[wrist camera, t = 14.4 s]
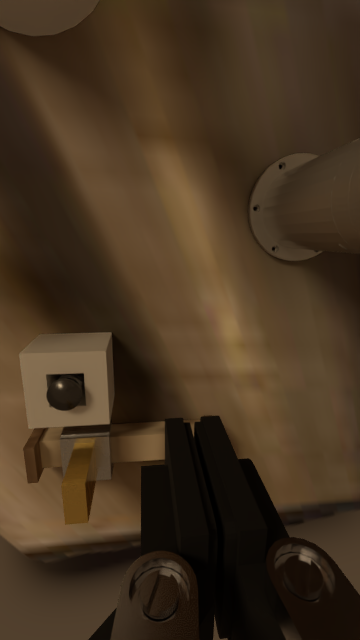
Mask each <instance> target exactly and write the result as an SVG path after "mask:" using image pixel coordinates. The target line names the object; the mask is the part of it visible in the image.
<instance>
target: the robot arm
mask: <svg viewBox="0 0 360 640" xmlns="http://www.w3.org/2000/svg"><path fill="white" fill-rule="evenodd" d="M279 166H281V169H279ZM253 207H256V210H255V211H254V210H253ZM248 220H249V225H250V229H251V232H252V234H253V236H254V238H255V240H256V241H257V243H258V244H259V245H260V247H261V248H262V249H263V250H265V251H266V252H267V253H268V254H270V255H272V256H274V257H276V258H279V259H282V260H287V261H302V260H307V259H310V258H312V257H315V256H317V255H318V254H320V253H322V252H323V251H329V252H341V253H353V254H360V138H359V139H357V140H354V141H352V142H350V143H348V144H345V145H343V146H341V147H339V148H337V149H334V150H332V151H330V152H328V153H325V154H323V155H321V156H318V155H315V154H310V153H295V154H292V155H288V156H285V157H283V158H281V159H279V160H278V161H276V162H275V163H273V164H272V165H270V166H269V167H268V168H267V169H266V170H265V171H264V172H263V173H262V174H261V176H260V177H259V178H258V180H257V181H256V183H255V185H254V187H253V189H252V192H251V195H250V199H249V205H248ZM272 247H274V250H273V251H272ZM214 615H215V620H216V626H217V630H218V634H219V638H220V639H223V638H228V640H360V595H359V593H358V592H357V591H356V589H355V588H354V587H353V585H352V584H351V583H350V581H349V580H348V579H347V577H346V576H345V575H344V573H343V572H342V571H341V569H340V568H339V567H338V565H337V564H336V563H335V561H334V560H333V559H332V558H331V557H330V556H329V555H328V554H327V553H326V552H325V551H324V550H323V549H321V548H320V547H318V546H317V545H316V544H314V543H312V542H309V541H307V540H305V539H301V538H295V537H289V535H288V533H287V531H286V529H285V527H284V525H283V523H282V521H281V519H280V517H279V515H278V513H277V511H276V509H275V507H274V505H273V503H272V501H271V499H270V496H269V494H268V492H267V490H266V488H265V486H264V484H263V482H262V480H261V478H260V476H259V474H258V472H257V470H256V468H255V466H254V464H253V462H252V461H251V460H250V459H238V458H237V456H236V454H235V451H234V449H233V447H232V445H231V442H230V440H229V438H228V435H227V433H226V431H225V428H224V426H223V424H222V421H221V419H220V417H219V416H205V417H201V419H200V422H195V423H194V436H193V432H192V429H191V425H190V422H185V423H184V421H183V418H170V419H165V465H153V466H141V557H140V558H139V559H138V560H136V561H135V562H134V563H133V564H132V565H131V566H130V568H129V569H128V571H127V572H126V573H125V576H124V579H123V582H122V585H121V589H120V594H119V599H118V604H117V608H116V609H115V610H114V611H113V612H112V614H111V615H110V616H109V617H108V618H107V619H106V620H105V621H104V623H103V624H102V625H101V626H100V627H99V628H98V629H97V631H96V632H95V633H94V634H93V635H92V636H91V637H90V638H89V640H213V629H214Z"/></svg>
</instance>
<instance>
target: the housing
mask: <svg viewBox="0 0 360 640" xmlns="http://www.w3.org/2000/svg"><path fill="white" fill-rule="evenodd" d="M19 357H20V365H21V373H22V381H23V388H24V396H25V404H26V412H27V420H28V428H29V429H30V428H48V427H65V426H83V425H100V424H110V420H111V414H112V408H113V402H114V396H115V391H114V370H113V349H112V332H104V333H64V334H39V335H38V336H37V337H36V338H35V339H34V340H33V341H32V342H31V343H30V344H29V345H28V346H27V347H26V348H24V349H23V350H22V351H21V352H20V353H19ZM73 373H84V383H83V385H82V391H83V394H82V398H81V400H80V403H79V404H78V405H77V406H76V407H75V408H74V409H71V410H68V411H61V410H57V409H55V408H53V407H52V406H51V405H50V404H49V403H48V401H47V397H46V394H47V390H48V388H49V386H50V385H51V383H52V382H53V381H54V380H56V379H58V378H59V377H60V375H61V374H73Z"/></svg>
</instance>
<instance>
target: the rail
mask: <svg viewBox="0 0 360 640" xmlns="http://www.w3.org/2000/svg"><path fill="white" fill-rule="evenodd" d="M204 417H205V416H204ZM183 421H184V423H185V422H190V425H191V429H192V432H193V436H194V423H195V422H200V419H195V420H183ZM63 428H64V427H56V428H35V429H34V431H33V432H32V434H31V436H30V438H29V440H28V441H27V443H26V445H25V447H24V448H23V450H24V458H25V465H26V473H27V480H28V483H38V481H39V479H40V476H41V474H42V472H43V469H44V468H50V467H62V459H61V449H60V437H61V433H62V431H63ZM110 443H111V462H112V463H120V462H134V461H148V460H163V459H165V421H160V422H143V423H125V424H112V428H111V434H110Z"/></svg>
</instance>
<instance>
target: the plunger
mask: <svg viewBox="0 0 360 640" xmlns="http://www.w3.org/2000/svg"><path fill="white" fill-rule="evenodd" d="M83 383H84V373H73V374H61V375H60V377H59V378H58V379H56V380H54V381H53V382H52V383H51V385H50V386H49V388H48V390H47V394H46V397H47V401H48V403H49V404H50V405H51V406H52V407H53V408H55V409H57V410H61V411H68V410H71V409H74V408H75V407H76V406H77V405H78V404H79V403H80V400H81V398H82V394H83V391H82V385H83Z"/></svg>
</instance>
